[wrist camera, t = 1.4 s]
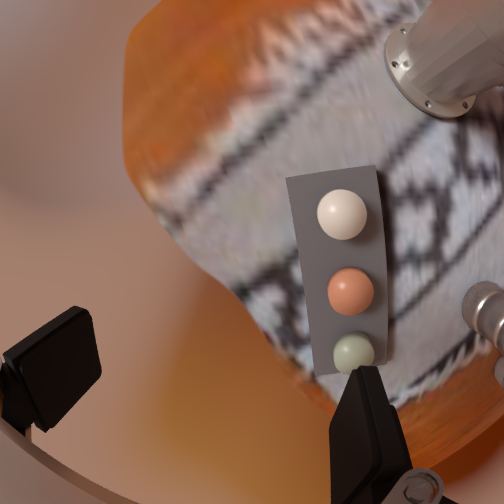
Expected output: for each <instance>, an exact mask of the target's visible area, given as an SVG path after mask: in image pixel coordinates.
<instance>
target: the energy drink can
mask: <svg viewBox="0 0 504 504" xmlns="http://www.w3.org/2000/svg"><path fill="white" fill-rule="evenodd" d="M494 371H495V378H496V380H497V381H498V382H499V384H500V385H501V386H502V388H503V389H504V357H503V355H502V356H501V357H500V358H499V359H498V361H497V363H496V365H495V370H494Z"/></svg>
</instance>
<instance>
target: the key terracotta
mask: <svg viewBox="0 0 504 504" xmlns="http://www.w3.org/2000/svg"><path fill="white" fill-rule="evenodd" d="M327 293H328V297H329V301H330V304H331V306H332V307H333V309H334V310H335V311H337V312H338V313H340V314H342V315H347V316H351V315H356V314H359V313H361V312H362V311H364V310H365V309H366V308H367V307H368V306H369V305H370V303H371V301H372V299H373V295H374V289H373V285H372V283H371V281H370V279H369V278H368V277H367V275H366V274H365V272H364V271H363V270H361V269H360V268H358V267H354V266H345V267H342V268H340V269H338V270H336V271H335V272H334V273H333V274H332V275H331V277H330V278H329V280H328V283H327Z"/></svg>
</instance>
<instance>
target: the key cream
mask: <svg viewBox="0 0 504 504" xmlns="http://www.w3.org/2000/svg"><path fill="white" fill-rule="evenodd" d="M317 219H318V222H319V224H320V225H321V227H322V229H323V230H324V232H325V233H326V234H328V235H329V236H330V237H332V238H335V239H339V240H347V239H350V238H353V237H355V236H356V235H358V234H359V233H360V232H361V231H362V229H363V228H364V226H365V223H366V219H367V210H366V207H365V204H364V202H363V201H362V199H361V198H360V197H359V196H358V195H357V194H355V193H353V192H351V191H348V190H343V189H335V190H332V191H329V192H327V193H326V194H325V195H324V196H323V197H322V198H321V199H320V201H319V203H318V206H317Z"/></svg>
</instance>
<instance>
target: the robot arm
mask: <svg viewBox="0 0 504 504" xmlns="http://www.w3.org/2000/svg"><path fill="white" fill-rule="evenodd" d="M384 57H385V63H386V66H387V70H388V72H389V74H390V76H391V78H392V80H393V82H394V83H395V85H396V86H397V88H398V89H399V90H400V91H401V93H402V94H403V95H404V96H405V97H406V98H407V99H408V100H409V101H410V102H411V103H412V104H414V105H415V106H416V107H418V108H419V109H421V110H422V111H424V112H426V113H428V114H430V115H433V116H436V117H439V118H455V117H458V116H461V115H463V114H465V113H467V112H468V111H469V110H470V109H471V108H472V106H473V104H474V102H475V99H476V95H477V94H478V93H480V92H482V91H485V90H487V89H490V88H492V87H495V86H499V87H502V86H503V85H504V0H433V2H432V3H431V4H430V6H429V7H428V8H427V9H426V11H425V12H424V13H423V15H422V16H421V17H420V18H419V20H418V21H417V22H416V23H406V24H402V25H400V26H398V27H396V28H395V29H394V30H393V31H392V32H391V33H390V35H389V36H388V38H387V40H386V43H385V48H384ZM393 66H394V67H395V68H394V67H393ZM425 104H426V105H427V106H426V105H425ZM3 357H4V359H5V363H2V360H1V358H0V504H139V503H137V502H134V501H132V500H130V499H127V498H125V497H123V496H120V495H118V494H116V493H114V492H112V491H109V490H108V489H106V488H104V487H102V486H100V485H98V484H96V483H94V482H92V481H90V480H89V479H87V478H85V477H83V476H82V475H80V474H78V473H77V472H75V471H73V470H72V469H70V468H68V467H67V466H65V465H63V464H62V463H60V462H59V461H57V460H56V459H54V458H53V457H51V456H50V455H48V454H47V453H46V452H44V451H42V450H41V449H40V448H39V447H37V446H36V445H34V444H33V443H32V442H31V424H32V423H33V422H34V423H35V425H36V427H38V428H39V429H41V430H42V431H43V432H45V433H46V432H47V431H48V430H49V429H50V428H53V427H55V426H56V424H57V423H58V422H59V421H60V420H61V419H62V418H63V417H64V415H66V413H67V412H68V411H69V410H70V409H71V408H72V407H73V406H74V405H75V404H76V403H77V401H78V400H79V399H80V398H81V397H82V396H83V395H84V394H85V393H86V392H87V391H88V390H89V388H90V387H91V386H92V385H93V384H94V383H95V382H96V381H97V380H98V379H99V378H100V376H101V373H102V369H101V364H100V360H99V355H98V350H97V345H96V339H95V335H94V328H93V322H92V317H91V315H90V314H89V312H88V310H86V309H84V308H80V307H78V306H73V307H71V308H69V309H68V310H67V311H65V312H63V313H62V314H60V315H59V316H57V317H56V318H54V319H53V320H51V321H49V322H48V323H47V324H45V325H43V326H42V327H41V328H39V329H38V330H36V331H35V332H33V333H32V334H30V335H29V336H27V337H26V338H24V339H23V340H21V341H20V342H19V343H17V344H16V345H14V346H13V347H12V348H10V349H9V350H7V351H6V352H4V353H3ZM329 444H330V469H331V470H330V471H331V504H458V503H456V502H454V501H452V500H450V499H448V498H446V497H445V496H443V492H444V487H443V483H442V480H441V479H440V477H439V476H438V475H437V474H436V473H434V472H433V471H431V470H428V469H425V468H416V469H413V466H412V463H411V459H410V455H409V452H408V448H407V444H406V441H405V438H404V434H403V431H402V428H401V424H400V421H399V418H398V415H397V412H396V409H395V407H394V406H393V405H390V404H389V401H388V398H387V395H386V392H385V389H384V386H383V383H382V380H381V377H380V374H379V371H378V368H377V367H376V366H365V365H360V366H359V367H358V368H357V369H353V370H352V372H351V374H350V377H349V379H348V382H347V385H346V387H345V390H344V392H343V395H342V397H341V399H340V402H339V404H338V407H337V409H336V411H335V414H334V416H333V418H332V420H331V423H330V427H329Z"/></svg>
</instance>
